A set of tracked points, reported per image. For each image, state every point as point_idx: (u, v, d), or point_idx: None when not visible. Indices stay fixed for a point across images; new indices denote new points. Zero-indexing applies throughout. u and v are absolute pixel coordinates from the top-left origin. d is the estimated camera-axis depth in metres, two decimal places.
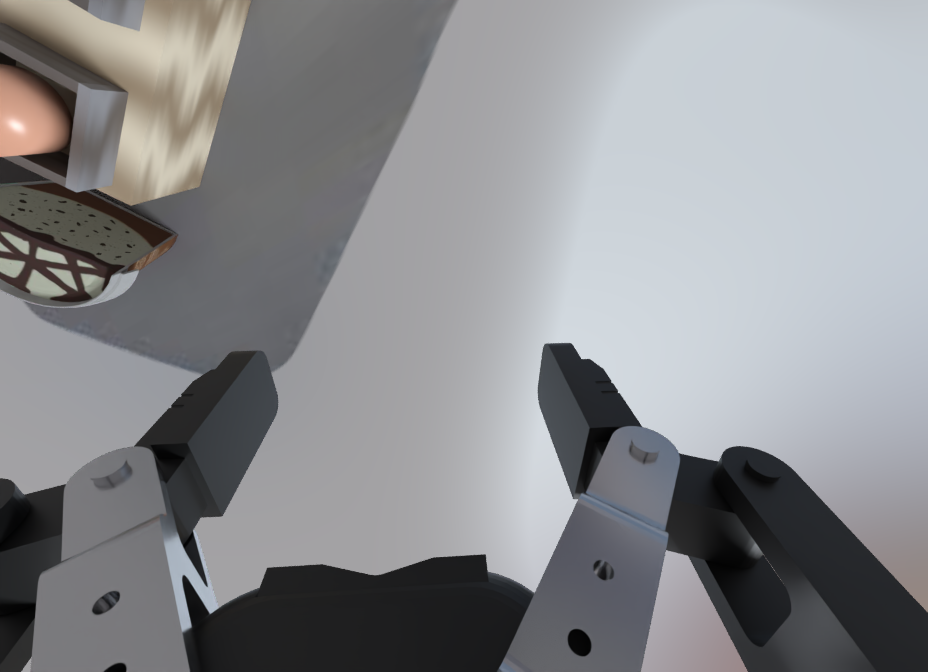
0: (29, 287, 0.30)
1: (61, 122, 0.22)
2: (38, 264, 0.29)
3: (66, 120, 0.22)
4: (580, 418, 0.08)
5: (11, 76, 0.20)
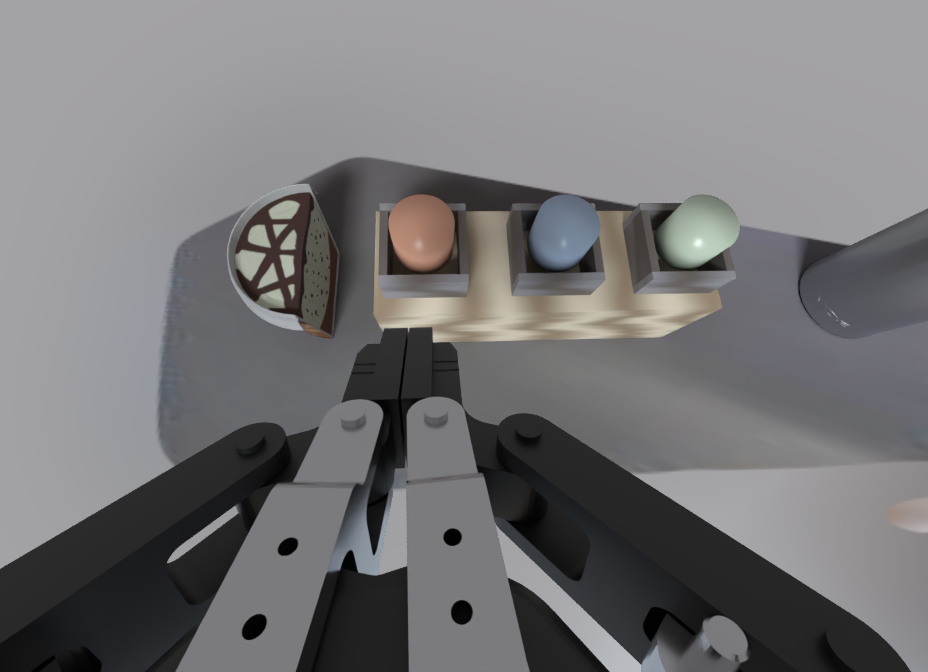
0: (242, 252, 0.30)
1: (432, 267, 0.27)
2: (273, 257, 0.30)
3: (433, 269, 0.28)
4: (402, 391, 0.09)
5: (453, 239, 0.27)
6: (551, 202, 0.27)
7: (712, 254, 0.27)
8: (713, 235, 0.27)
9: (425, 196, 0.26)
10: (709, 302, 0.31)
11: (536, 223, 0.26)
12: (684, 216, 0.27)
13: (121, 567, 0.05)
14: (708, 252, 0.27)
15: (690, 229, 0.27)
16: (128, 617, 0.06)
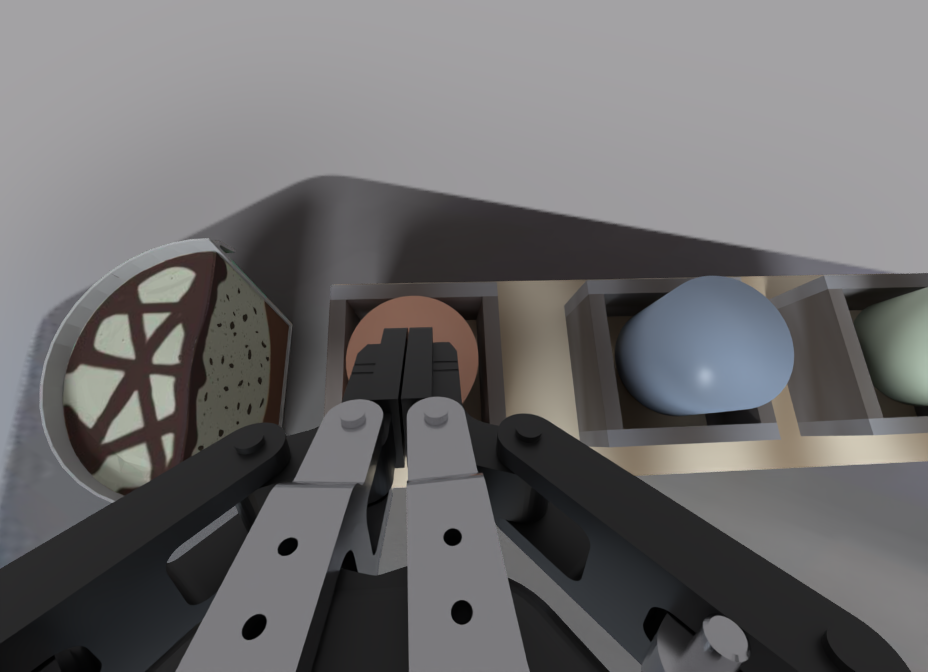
0: (80, 370, 0.16)
1: None
2: (137, 378, 0.16)
3: None
4: (402, 391, 0.09)
5: None
6: (685, 293, 0.13)
7: None
8: None
9: (420, 300, 0.13)
10: None
11: (656, 341, 0.12)
12: None
13: (121, 567, 0.05)
14: None
15: None
16: (128, 617, 0.06)
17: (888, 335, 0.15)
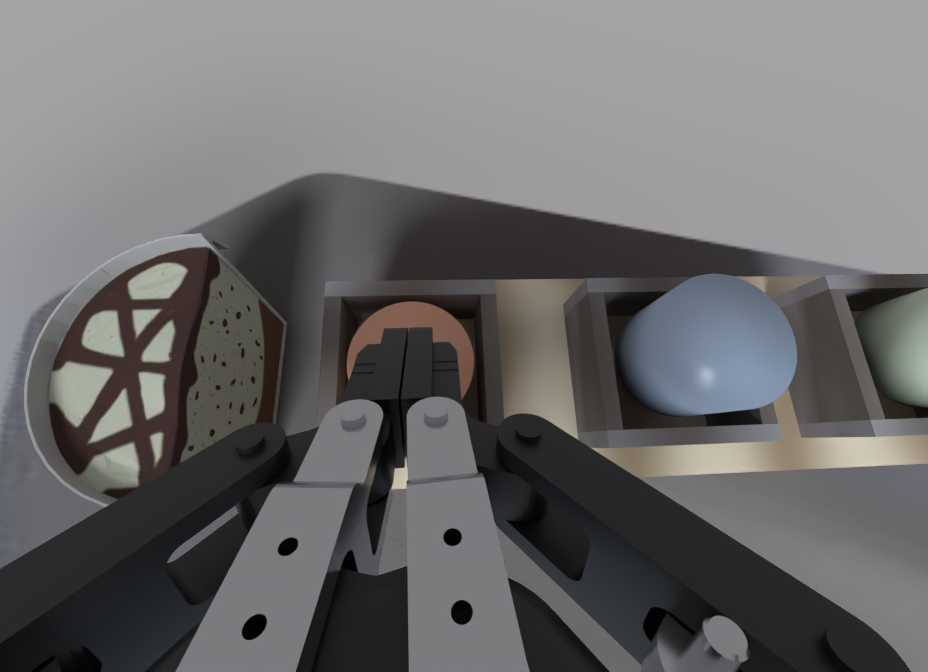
0: (67, 367, 0.16)
1: None
2: (126, 376, 0.16)
3: None
4: (402, 391, 0.09)
5: None
6: (687, 291, 0.12)
7: None
8: None
9: (418, 305, 0.14)
10: None
11: (657, 340, 0.12)
12: None
13: (121, 567, 0.05)
14: None
15: None
16: (128, 617, 0.06)
17: (890, 335, 0.14)
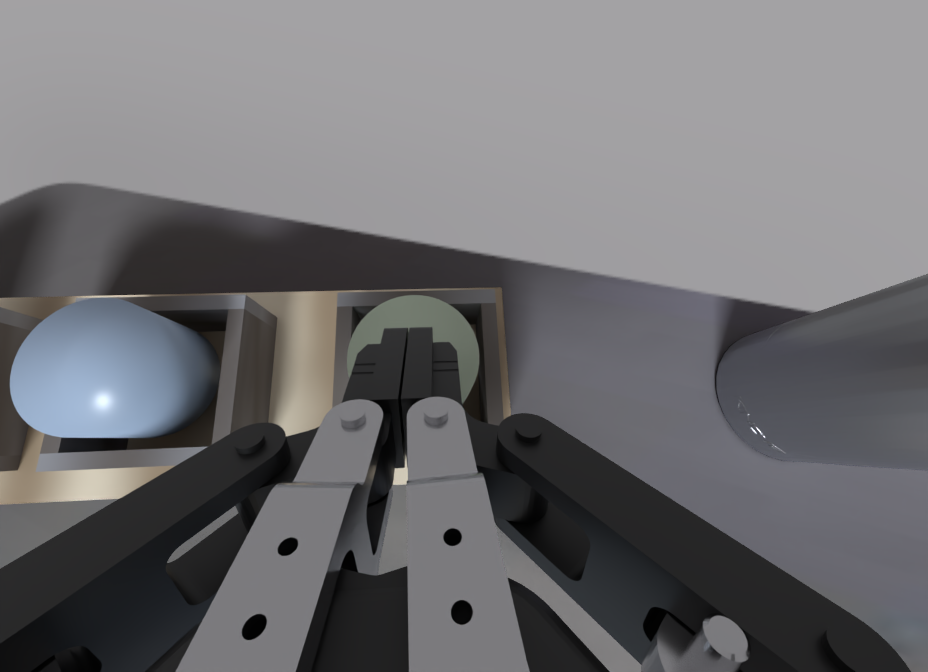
0: None
1: None
2: None
3: None
4: (403, 391, 0.09)
5: None
6: (64, 315, 0.12)
7: None
8: None
9: None
10: None
11: None
12: (362, 345, 0.13)
13: (121, 567, 0.05)
14: None
15: None
16: (128, 617, 0.06)
17: None
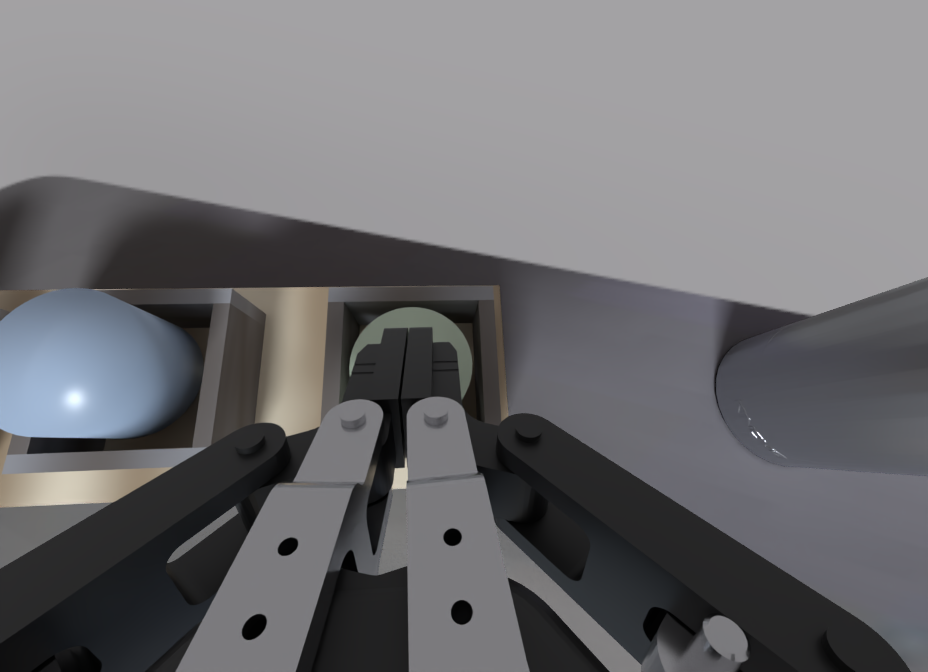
0: None
1: None
2: None
3: None
4: (402, 391, 0.09)
5: None
6: (34, 307, 0.11)
7: None
8: None
9: None
10: None
11: None
12: None
13: (121, 567, 0.05)
14: None
15: None
16: (128, 617, 0.06)
17: None
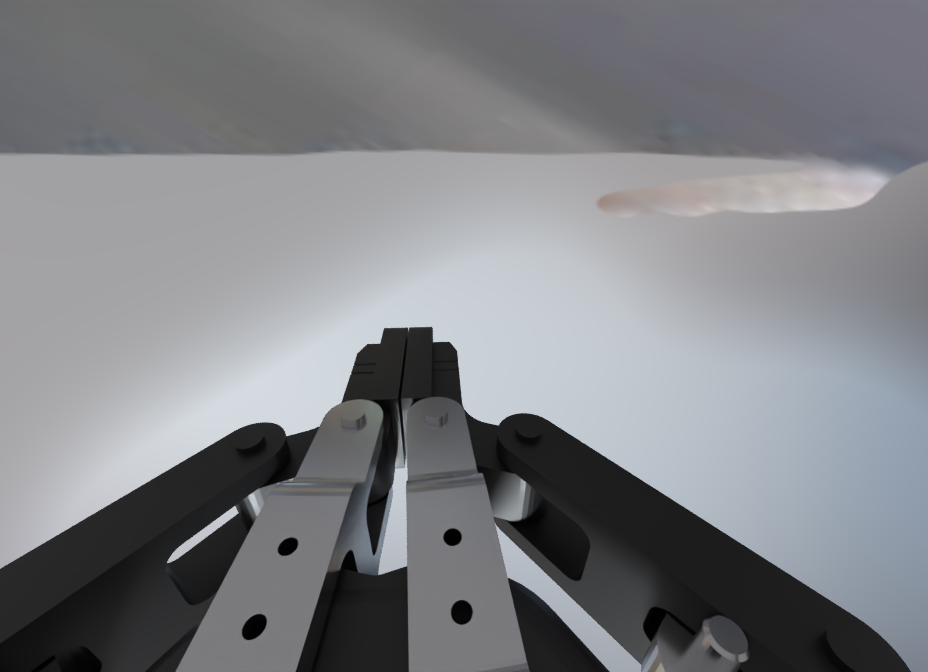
0: None
1: None
2: None
3: None
4: (402, 391, 0.09)
5: None
6: None
7: None
8: None
9: None
10: None
11: None
12: None
13: (121, 567, 0.05)
14: None
15: None
16: (128, 617, 0.06)
17: None
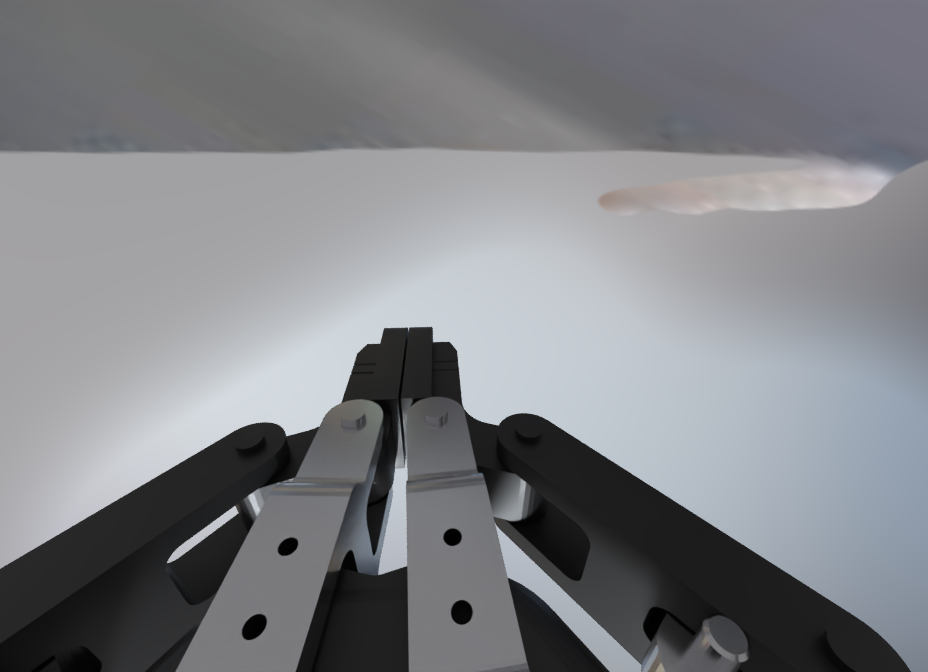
0: None
1: None
2: None
3: None
4: (403, 391, 0.09)
5: None
6: None
7: None
8: None
9: None
10: None
11: None
12: None
13: (121, 567, 0.05)
14: None
15: None
16: (128, 617, 0.06)
17: None
